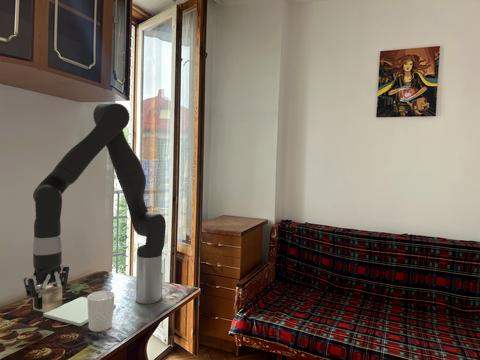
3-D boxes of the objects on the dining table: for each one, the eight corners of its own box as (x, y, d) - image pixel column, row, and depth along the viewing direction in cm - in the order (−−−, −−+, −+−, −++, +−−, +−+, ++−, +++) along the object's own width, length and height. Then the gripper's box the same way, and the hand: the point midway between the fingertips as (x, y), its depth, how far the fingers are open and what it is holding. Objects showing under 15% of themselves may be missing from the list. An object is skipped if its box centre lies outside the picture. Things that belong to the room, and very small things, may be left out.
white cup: (82, 326, 107) (83, 295, 107) (106, 318, 113) (107, 289, 113) (93, 335, 102) (94, 302, 102) (118, 327, 108) (119, 295, 107)
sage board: (81, 299, 128) (81, 296, 128) (115, 307, 122) (115, 304, 122) (43, 316, 113) (43, 313, 113) (80, 326, 107) (80, 323, 107)
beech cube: (49, 302, 108) (49, 285, 108) (62, 305, 106) (62, 288, 106) (33, 309, 103) (33, 291, 102) (46, 312, 101) (46, 294, 100)
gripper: (59, 243, 111) (59, 294, 112) (15, 254, 98) (16, 312, 99) (76, 246, 109) (76, 298, 110) (34, 258, 95) (34, 317, 96)
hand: (47, 304), depth 104 cm, fingers closed on beech cube, 5 cm apart
